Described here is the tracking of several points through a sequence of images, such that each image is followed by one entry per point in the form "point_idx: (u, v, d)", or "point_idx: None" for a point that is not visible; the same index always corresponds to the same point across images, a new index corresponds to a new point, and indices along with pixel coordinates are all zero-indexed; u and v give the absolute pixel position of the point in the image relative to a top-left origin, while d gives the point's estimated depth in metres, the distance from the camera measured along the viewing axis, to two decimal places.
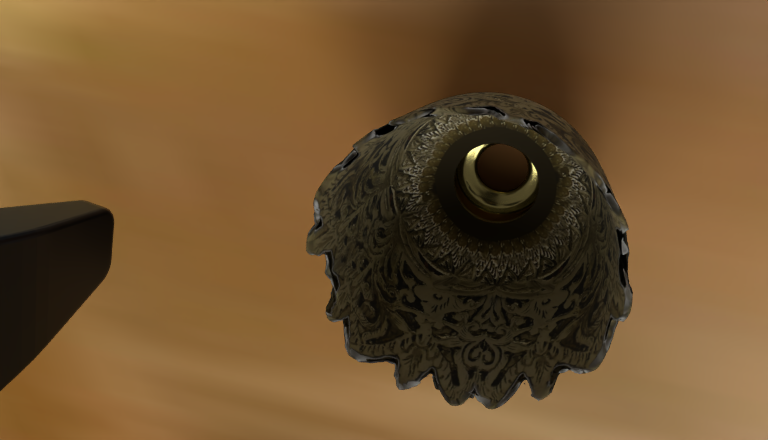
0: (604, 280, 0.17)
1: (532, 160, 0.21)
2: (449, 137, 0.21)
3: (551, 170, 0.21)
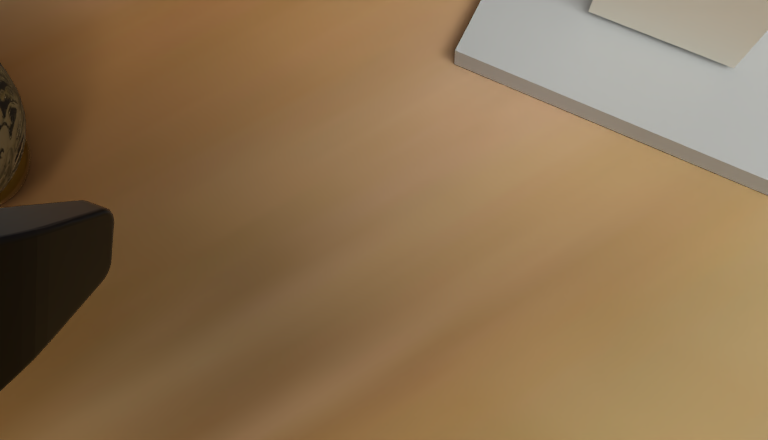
0: None
1: None
2: None
3: None
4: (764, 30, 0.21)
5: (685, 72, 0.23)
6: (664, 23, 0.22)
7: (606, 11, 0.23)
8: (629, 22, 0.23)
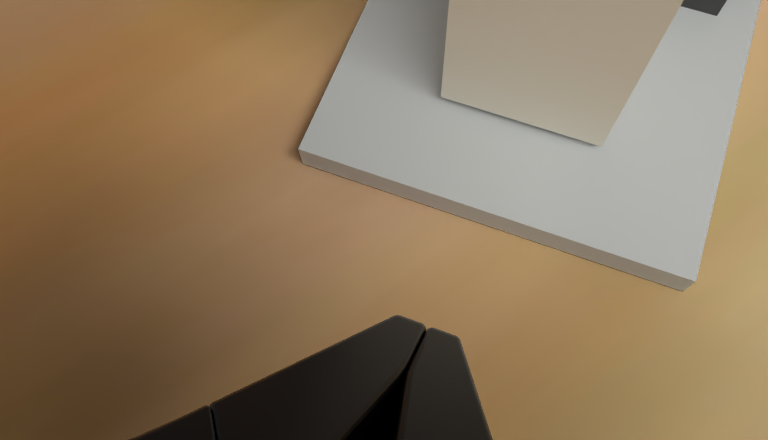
0: None
1: None
2: None
3: None
4: (622, 104, 0.19)
5: (551, 154, 0.21)
6: (520, 104, 0.20)
7: (459, 95, 0.21)
8: (484, 105, 0.21)
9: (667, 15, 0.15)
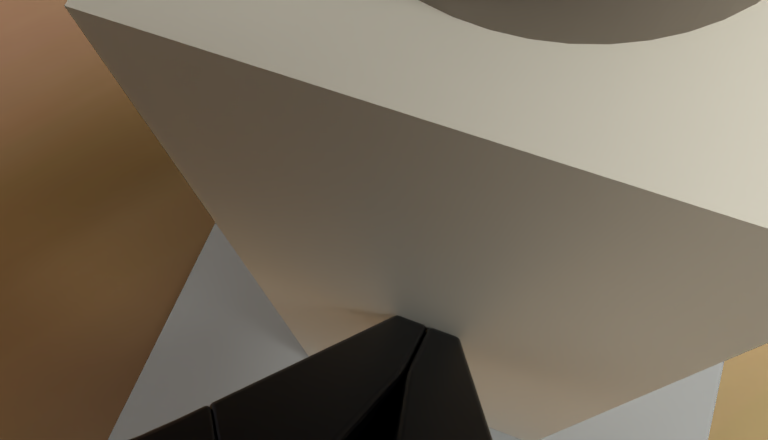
0: None
1: None
2: None
3: None
4: (549, 432, 0.13)
5: None
6: None
7: None
8: None
9: (596, 406, 0.09)
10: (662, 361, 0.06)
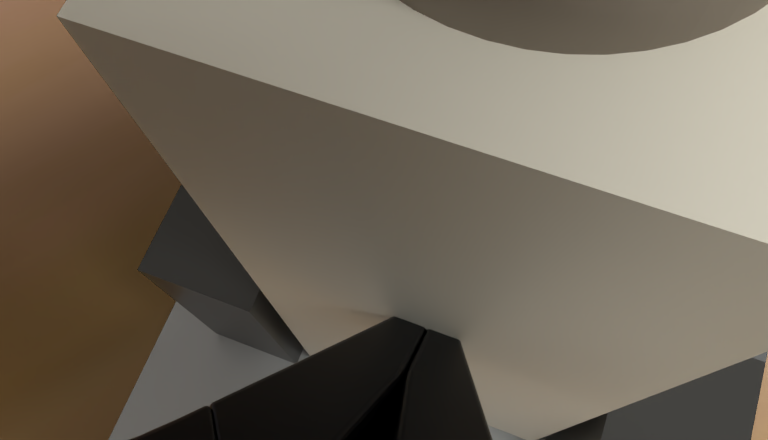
0: None
1: None
2: None
3: None
4: (549, 432, 0.13)
5: None
6: None
7: None
8: None
9: (596, 408, 0.09)
10: (661, 367, 0.06)
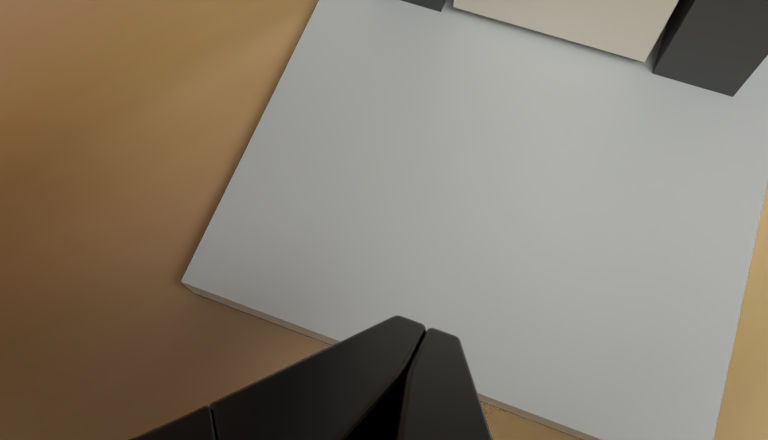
0: None
1: None
2: None
3: None
4: (675, 0, 0.15)
5: (513, 291, 0.16)
6: (549, 9, 0.17)
7: (475, 2, 0.18)
8: (505, 15, 0.18)
9: None
10: None
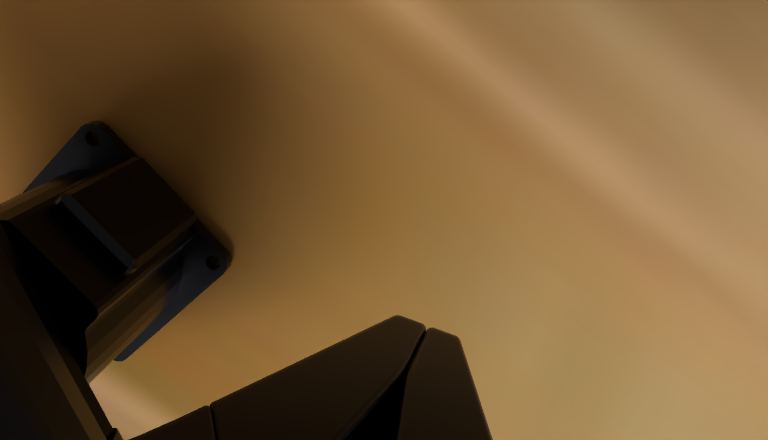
0: None
1: None
2: None
3: None
4: None
5: None
6: None
7: None
8: None
9: None
10: None
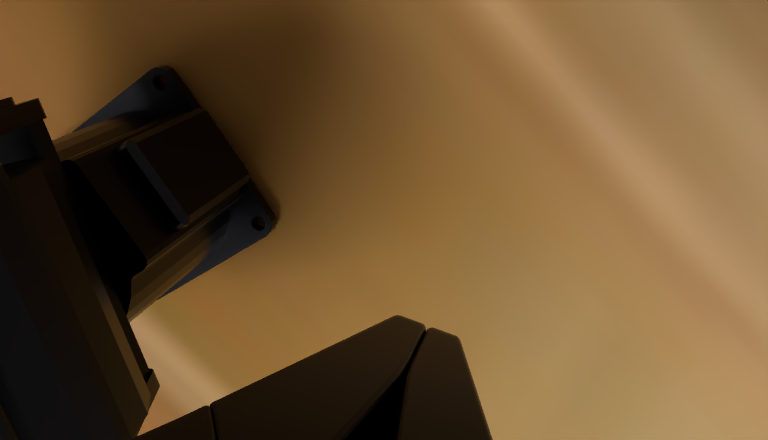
0: None
1: None
2: None
3: None
4: None
5: None
6: None
7: None
8: None
9: None
10: None
